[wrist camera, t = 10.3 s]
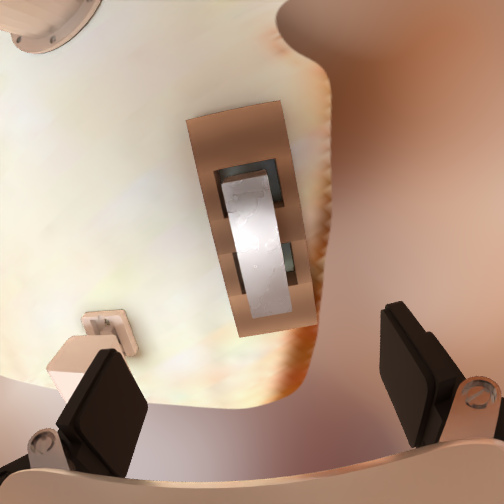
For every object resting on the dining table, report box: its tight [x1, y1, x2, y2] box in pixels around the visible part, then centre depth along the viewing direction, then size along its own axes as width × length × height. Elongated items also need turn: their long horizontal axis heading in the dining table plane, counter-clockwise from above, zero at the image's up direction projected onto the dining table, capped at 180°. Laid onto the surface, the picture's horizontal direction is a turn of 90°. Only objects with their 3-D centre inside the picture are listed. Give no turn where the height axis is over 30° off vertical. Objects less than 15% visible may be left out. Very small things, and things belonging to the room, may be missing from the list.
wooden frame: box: [186, 100, 317, 338], centre depth 28 cm, size 20×8×3 cm, turn 12°
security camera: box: [46, 310, 138, 404], centre depth 30 cm, size 6×7×10 cm
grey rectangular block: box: [221, 169, 293, 319], centre depth 26 cm, size 10×3×8 cm, turn 12°
